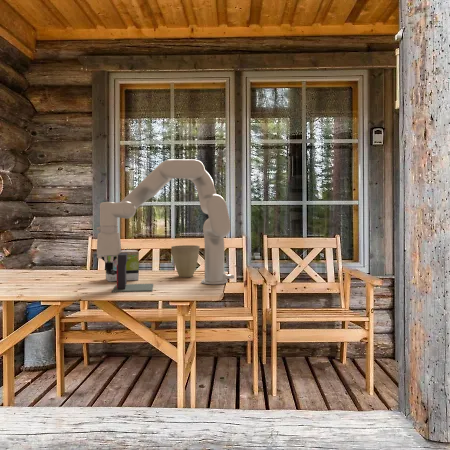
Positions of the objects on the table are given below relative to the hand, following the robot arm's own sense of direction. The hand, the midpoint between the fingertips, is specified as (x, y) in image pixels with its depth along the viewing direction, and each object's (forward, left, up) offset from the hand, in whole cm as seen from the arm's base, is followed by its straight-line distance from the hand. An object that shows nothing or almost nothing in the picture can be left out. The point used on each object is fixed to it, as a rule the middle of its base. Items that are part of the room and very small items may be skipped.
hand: (109, 271), depth 196 cm
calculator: (-5, 0, -8) cm, 9 cm away
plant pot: (-35, -33, -8) cm, 49 cm away
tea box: (-3, -26, -8) cm, 27 cm away
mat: (-10, 0, -8) cm, 13 cm away
